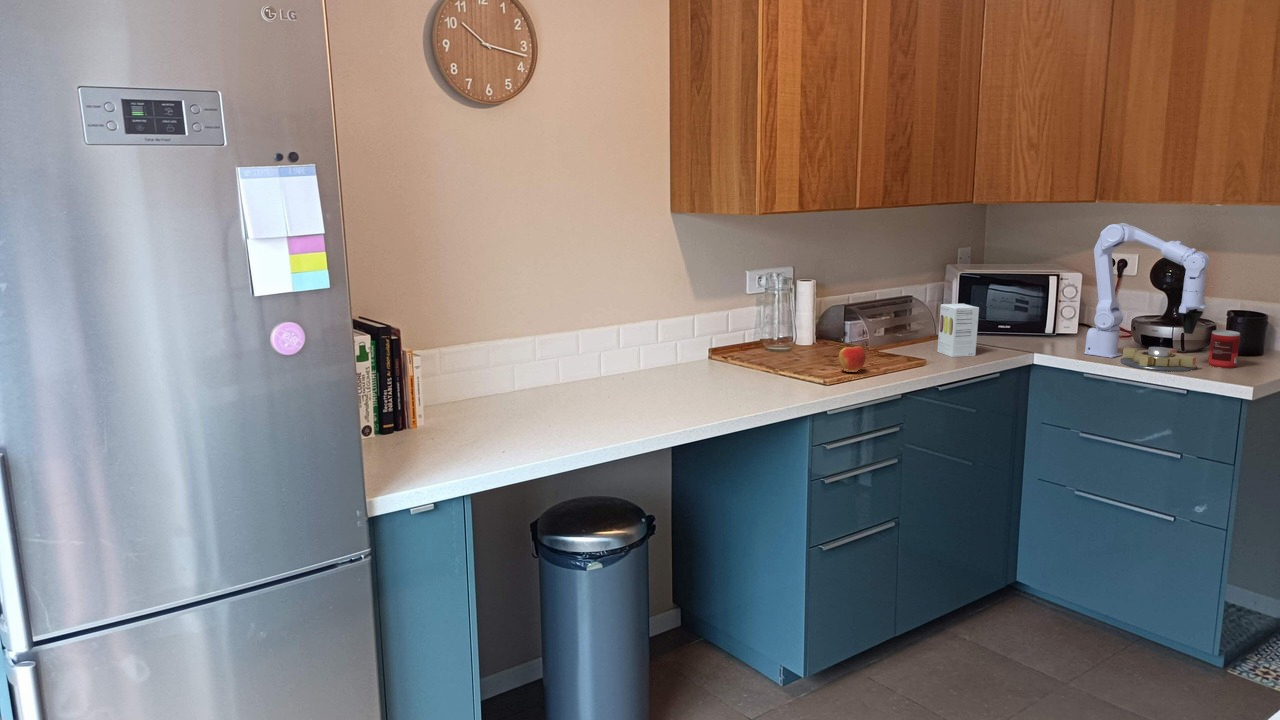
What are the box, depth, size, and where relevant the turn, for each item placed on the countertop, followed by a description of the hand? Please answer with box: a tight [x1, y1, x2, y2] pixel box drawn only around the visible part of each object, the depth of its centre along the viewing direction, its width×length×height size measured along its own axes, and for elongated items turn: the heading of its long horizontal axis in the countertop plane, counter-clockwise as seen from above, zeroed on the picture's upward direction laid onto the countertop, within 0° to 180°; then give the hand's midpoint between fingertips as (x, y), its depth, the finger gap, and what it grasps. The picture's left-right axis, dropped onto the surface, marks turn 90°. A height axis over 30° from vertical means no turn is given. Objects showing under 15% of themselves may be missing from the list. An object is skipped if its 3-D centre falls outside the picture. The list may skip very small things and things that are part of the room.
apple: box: [838, 340, 866, 370], centre depth 282 cm, size 8×8×10 cm
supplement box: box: [937, 303, 980, 358], centre depth 310 cm, size 10×9×17 cm
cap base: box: [1120, 346, 1197, 373], centre depth 293 cm, size 21×23×5 cm
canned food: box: [1207, 329, 1241, 369], centre depth 289 cm, size 8×8×11 cm
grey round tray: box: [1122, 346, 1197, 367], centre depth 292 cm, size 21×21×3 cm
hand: (1188, 333), depth 289 cm, fingers closed
